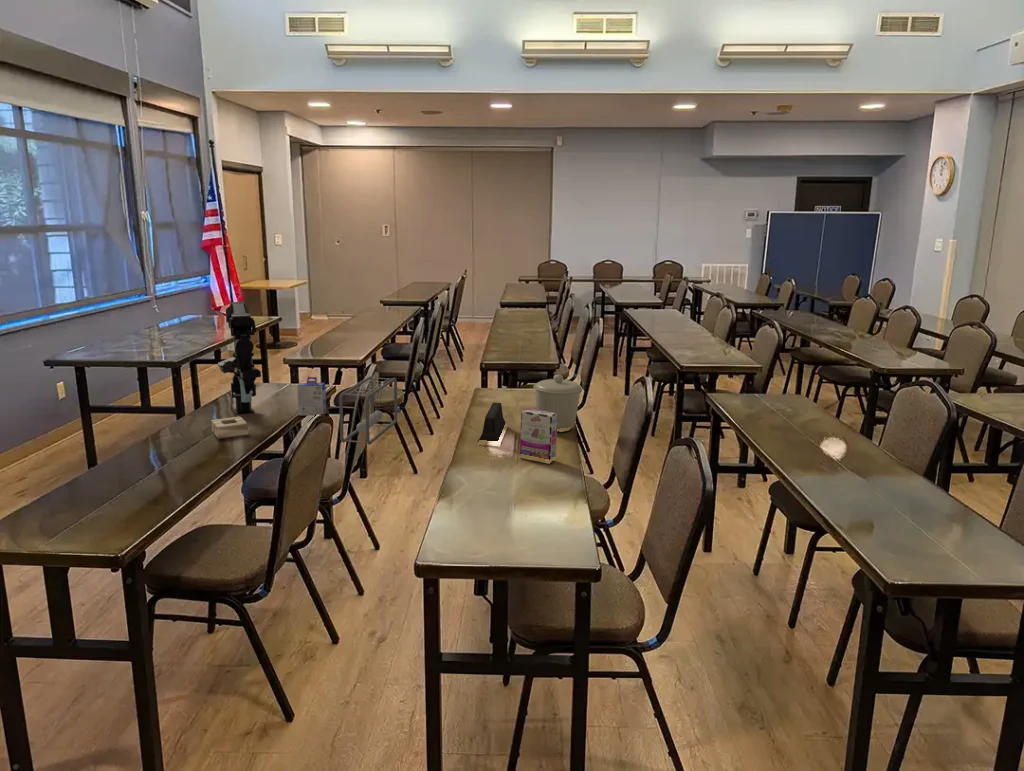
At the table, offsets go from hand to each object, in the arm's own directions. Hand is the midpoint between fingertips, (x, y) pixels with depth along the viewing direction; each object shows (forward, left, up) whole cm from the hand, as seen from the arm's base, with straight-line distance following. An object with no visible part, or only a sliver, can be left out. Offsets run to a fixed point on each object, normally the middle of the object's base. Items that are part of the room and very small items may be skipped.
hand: (246, 392), depth 255 cm
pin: (0, 0, -3) cm, 3 cm away
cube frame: (+25, +36, -14) cm, 46 cm away
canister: (+55, +98, -14) cm, 113 cm away
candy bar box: (+79, +72, -14) cm, 108 cm away
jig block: (+2, -7, -13) cm, 15 cm away
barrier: (+50, +73, -14) cm, 90 cm away
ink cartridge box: (-7, +26, -14) cm, 30 cm away
